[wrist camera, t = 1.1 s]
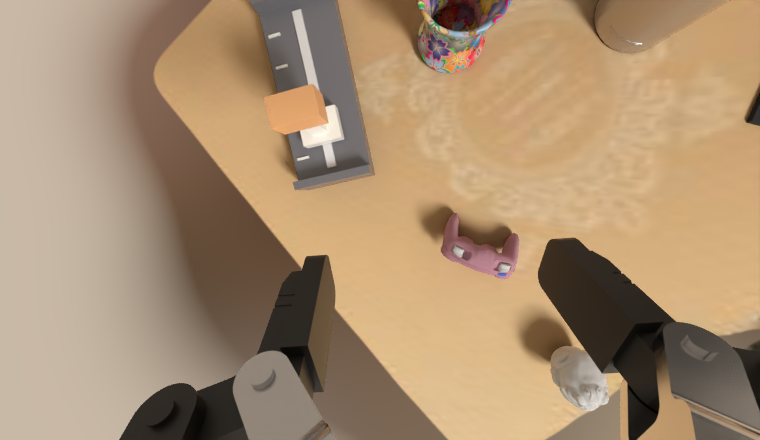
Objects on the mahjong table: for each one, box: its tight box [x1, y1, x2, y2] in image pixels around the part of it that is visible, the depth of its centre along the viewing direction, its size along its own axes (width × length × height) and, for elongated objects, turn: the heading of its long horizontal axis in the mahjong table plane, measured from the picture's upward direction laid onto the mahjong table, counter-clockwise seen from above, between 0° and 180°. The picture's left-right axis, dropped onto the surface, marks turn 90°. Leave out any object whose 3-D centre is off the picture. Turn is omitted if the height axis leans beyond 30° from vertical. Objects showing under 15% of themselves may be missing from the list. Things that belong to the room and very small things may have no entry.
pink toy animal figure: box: [441, 213, 519, 279], centre depth 37 cm, size 10×5×7 cm, turn 71°
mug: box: [417, 0, 512, 73], centre depth 31 cm, size 12×9×11 cm
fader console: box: [249, 0, 375, 190], centre depth 37 cm, size 24×10×5 cm, turn 12°
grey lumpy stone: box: [551, 346, 609, 411], centre depth 36 cm, size 6×7×7 cm
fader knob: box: [264, 84, 344, 148], centre depth 31 cm, size 4×5×10 cm
